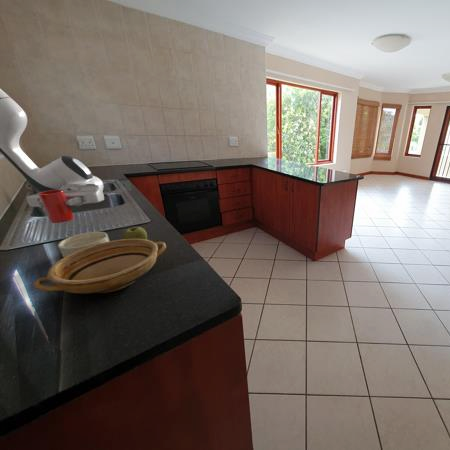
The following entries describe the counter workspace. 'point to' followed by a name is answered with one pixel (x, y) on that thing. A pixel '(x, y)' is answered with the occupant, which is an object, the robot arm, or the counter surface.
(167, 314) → the counter surface
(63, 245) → the serving bowl
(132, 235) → the apple
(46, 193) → the fries cup
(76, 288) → the wicker basket
